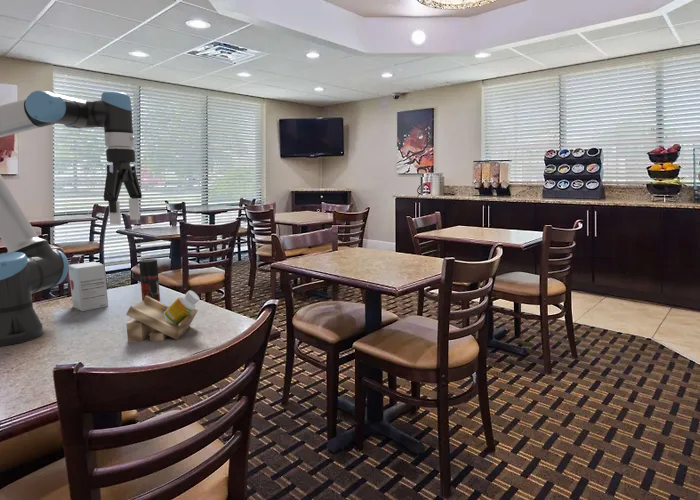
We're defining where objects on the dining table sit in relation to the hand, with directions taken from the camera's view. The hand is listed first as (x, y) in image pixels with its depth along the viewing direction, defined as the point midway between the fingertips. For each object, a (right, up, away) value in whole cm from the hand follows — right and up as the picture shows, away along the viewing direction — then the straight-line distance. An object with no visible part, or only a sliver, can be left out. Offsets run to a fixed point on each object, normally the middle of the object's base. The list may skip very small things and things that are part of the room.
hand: (125, 222), depth 139 cm
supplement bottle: (+15, -28, -4) cm, 32 cm away
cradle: (+13, -32, -4) cm, 35 cm away
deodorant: (-5, -27, +31) cm, 41 cm away
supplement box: (-24, -28, +25) cm, 45 cm away
